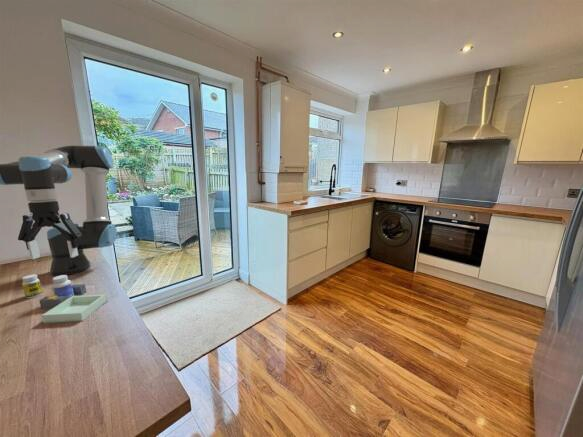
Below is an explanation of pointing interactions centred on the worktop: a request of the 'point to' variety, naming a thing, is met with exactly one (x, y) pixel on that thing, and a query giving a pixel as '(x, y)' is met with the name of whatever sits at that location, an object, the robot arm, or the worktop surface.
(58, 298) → the block
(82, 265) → the robot arm
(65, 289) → the pill bottle
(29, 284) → the supplement bottle
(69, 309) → the tray
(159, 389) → the worktop surface
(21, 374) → the worktop surface
